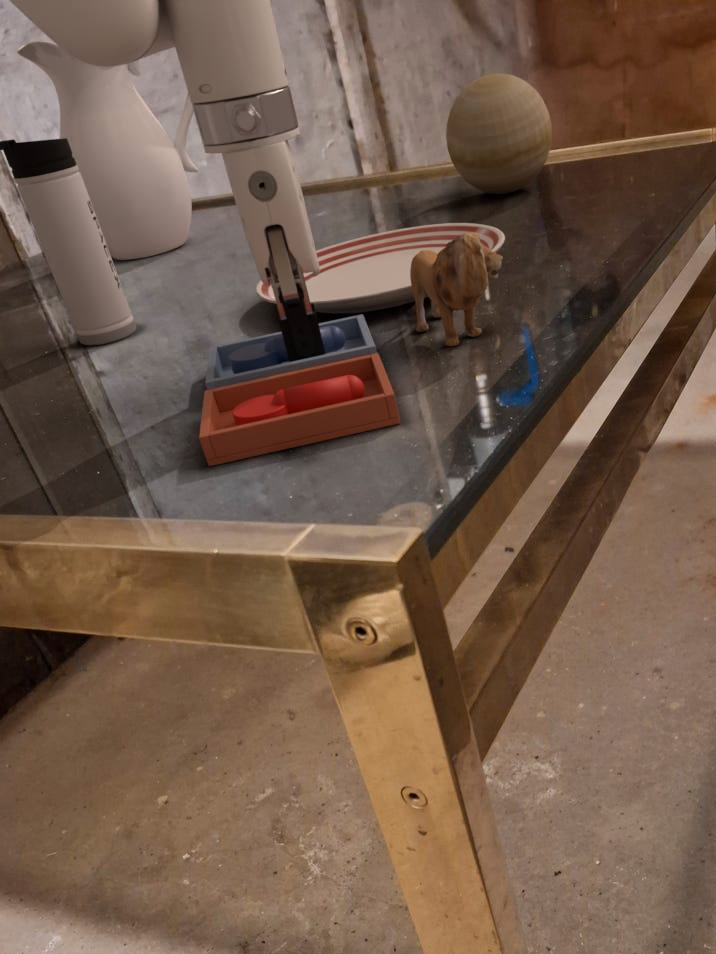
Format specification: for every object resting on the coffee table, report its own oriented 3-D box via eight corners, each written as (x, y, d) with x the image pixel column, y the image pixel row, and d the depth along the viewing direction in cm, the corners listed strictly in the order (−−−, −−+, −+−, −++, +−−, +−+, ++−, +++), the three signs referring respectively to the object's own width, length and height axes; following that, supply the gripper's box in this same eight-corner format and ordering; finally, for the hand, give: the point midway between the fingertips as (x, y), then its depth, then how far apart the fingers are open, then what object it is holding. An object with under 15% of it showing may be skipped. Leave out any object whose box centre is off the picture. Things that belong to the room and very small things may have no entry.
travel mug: (66, 345, 101) (-17, 143, 90) (115, 325, 106) (40, 129, 94) (100, 349, 98) (17, 140, 87) (148, 328, 102) (76, 125, 91)
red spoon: (364, 390, 74) (358, 364, 73) (370, 409, 70) (363, 381, 69) (237, 418, 73) (229, 392, 72) (236, 439, 69) (228, 411, 68)
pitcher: (99, 273, 132) (13, 44, 116) (90, 254, 145) (12, 47, 129) (259, 234, 138) (199, 11, 122) (236, 219, 151) (180, 17, 135)
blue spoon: (345, 341, 84) (340, 317, 82) (350, 355, 80) (344, 330, 79) (233, 364, 83) (226, 340, 81) (232, 380, 79) (224, 355, 78)
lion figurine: (520, 336, 80) (506, 227, 75) (470, 355, 78) (453, 244, 73) (431, 311, 91) (413, 214, 86) (385, 327, 89) (364, 228, 84)
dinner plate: (257, 349, 89) (247, 314, 87) (266, 281, 112) (258, 253, 110) (531, 294, 91) (527, 258, 89) (486, 238, 113) (482, 209, 111)
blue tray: (213, 409, 77) (205, 382, 76) (217, 371, 86) (209, 346, 84) (381, 372, 78) (375, 345, 77) (368, 338, 87) (362, 313, 85)
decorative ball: (564, 176, 139) (554, 60, 130) (547, 198, 127) (535, 72, 118) (468, 187, 143) (452, 75, 134) (444, 210, 131) (425, 89, 122)
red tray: (208, 466, 67) (198, 437, 66) (213, 417, 76) (204, 390, 74) (400, 423, 68) (394, 393, 67) (383, 379, 77) (378, 352, 75)
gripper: (300, 122, 65) (358, 376, 75) (291, 106, 78) (341, 324, 88) (194, 142, 64) (267, 395, 75) (203, 122, 77) (264, 340, 88)
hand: (307, 355), depth 81 cm, fingers closed on blue spoon, 2 cm apart
